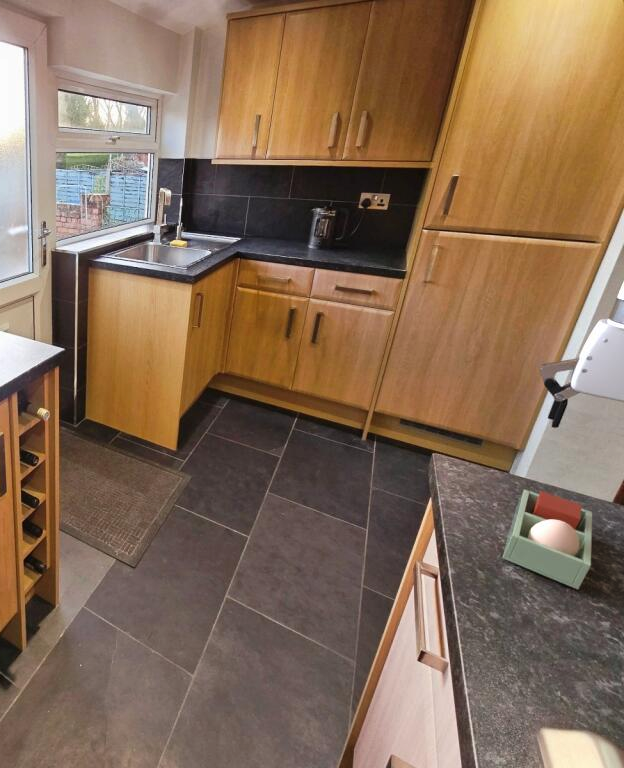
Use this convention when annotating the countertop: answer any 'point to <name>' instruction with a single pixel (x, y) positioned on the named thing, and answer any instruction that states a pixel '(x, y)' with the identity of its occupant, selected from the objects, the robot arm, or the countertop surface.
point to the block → (557, 509)
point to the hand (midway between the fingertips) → (599, 435)
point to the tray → (542, 556)
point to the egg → (556, 536)
